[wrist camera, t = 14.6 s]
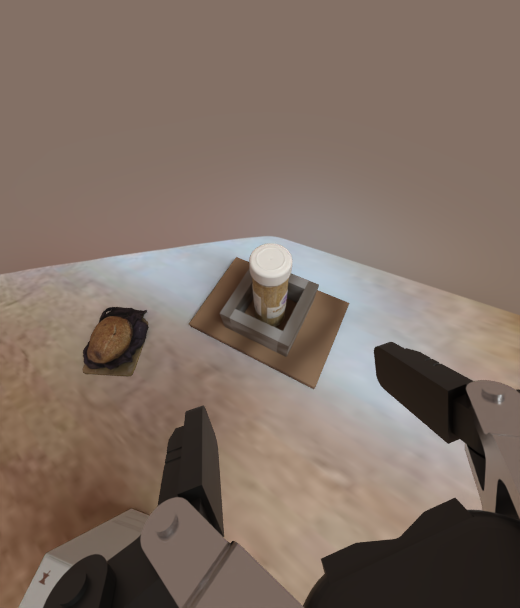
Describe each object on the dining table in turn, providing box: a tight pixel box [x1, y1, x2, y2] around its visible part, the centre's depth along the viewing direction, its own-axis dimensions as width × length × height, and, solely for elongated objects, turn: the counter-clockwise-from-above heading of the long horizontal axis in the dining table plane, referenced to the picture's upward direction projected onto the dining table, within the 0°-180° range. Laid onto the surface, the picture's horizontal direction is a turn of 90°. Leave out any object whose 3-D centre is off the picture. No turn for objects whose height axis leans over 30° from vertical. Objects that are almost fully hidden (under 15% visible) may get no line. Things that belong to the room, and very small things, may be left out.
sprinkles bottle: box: [249, 244, 292, 327], centre depth 32 cm, size 5×5×14 cm
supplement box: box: [18, 508, 149, 608], centre depth 20 cm, size 7×7×13 cm
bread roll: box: [83, 307, 149, 376], centre depth 37 cm, size 11×8×4 cm
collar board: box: [189, 257, 349, 389], centre depth 37 cm, size 20×14×6 cm
